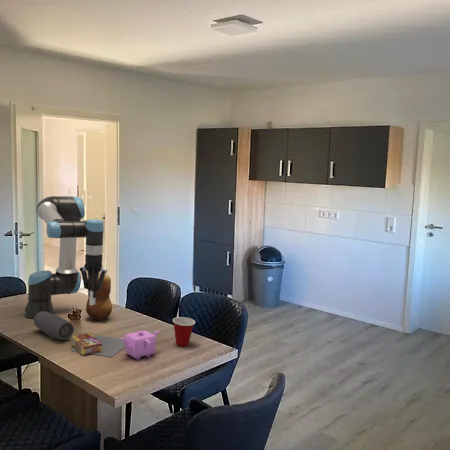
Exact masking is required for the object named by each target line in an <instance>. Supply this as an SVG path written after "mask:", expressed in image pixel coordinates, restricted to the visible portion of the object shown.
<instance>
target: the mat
mask: <svg viewBox="0 0 450 450" xmlns="http://www.w3.org/2000/svg"><path fill="white" fill-rule="evenodd" d="M93 336H94V337H95V338H96V339H98V340H99V341H100V342H101V343H102V352H97V353H91V354H90V355H95V356H99V357H108V358H113V357H114V356H116V355H118V354H119V353H120V352H121V351H122V350H125V343H124V340H123V339H120V338H119V337H113V336H105V335H98V334H95V335H93ZM70 352H75V353H80V352H79V351H78V350H77V349H76V348H75V347H73V348H72V349H70Z"/></svg>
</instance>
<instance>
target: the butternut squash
mask: <svg viewBox="0 0 450 450" xmlns="http://www.w3.org/2000/svg"><path fill="white" fill-rule="evenodd" d="M100 274H101V272H99V276H98V281H99V278H100ZM111 285H112V280H111V277H110V276H109V275H108V274H107V273H106V274H105V277H104V281H103V284H102V288H101V289H100V290H98V291H97V297H96V298H95V304H94V305H89V299H90V297H87V298H88V299H87V301H86V305H85V312H86V314H87V315H88V317H89V318H91V319H93V320H95V321H98V322H101V321H104V320H107V319H108V318H109V317H110V315H111V314H112V311H113V304H112V300H111V298H110V294H111V289H112V287H111ZM92 290H93V289H92Z"/></svg>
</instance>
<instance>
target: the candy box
mask: <svg viewBox="0 0 450 450" xmlns="http://www.w3.org/2000/svg"><path fill="white" fill-rule="evenodd" d="M94 336H95V335H93V334H91V333H90V332H88V333H82V334H75V335H74V334H73V335H72V336H71V345H72V346H73V348H76V349H77V350H78V351H79V352H78V353H80V354H81V355H82V356H84V355H85V356H86V355H92V354H91V353H97V352H102V343H101V342H100V341H99V340H98V339H96V338H95V337H94Z"/></svg>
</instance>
